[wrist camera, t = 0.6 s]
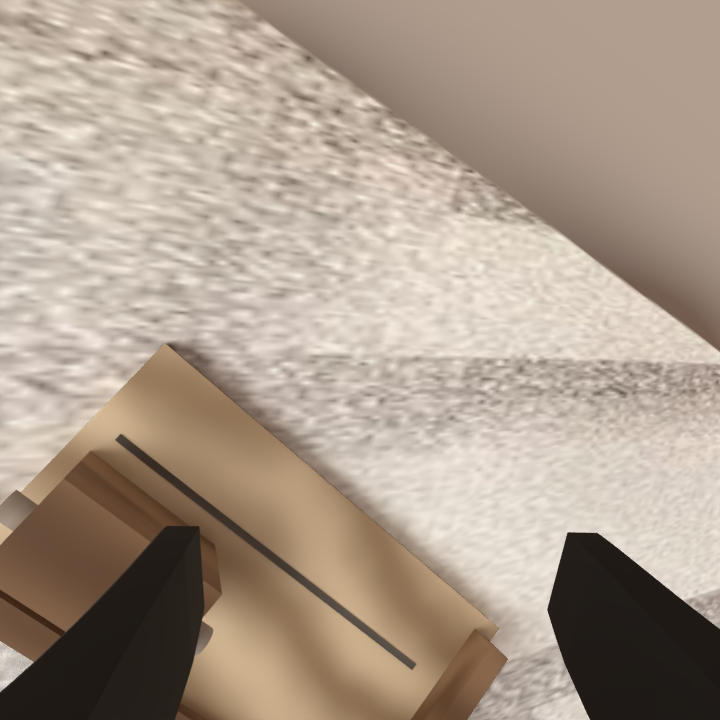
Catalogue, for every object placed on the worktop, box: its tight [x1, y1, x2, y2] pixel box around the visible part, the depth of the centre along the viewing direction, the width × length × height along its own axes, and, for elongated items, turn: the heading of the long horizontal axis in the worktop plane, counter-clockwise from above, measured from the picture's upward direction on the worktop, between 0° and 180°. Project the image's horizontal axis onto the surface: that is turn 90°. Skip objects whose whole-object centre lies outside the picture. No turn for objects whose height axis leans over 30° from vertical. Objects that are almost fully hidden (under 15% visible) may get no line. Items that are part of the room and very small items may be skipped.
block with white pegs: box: [0, 451, 222, 655], centre depth 24 cm, size 4×10×6 cm, turn 48°
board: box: [0, 344, 508, 720], centre depth 28 cm, size 15×27×3 cm, turn 48°
